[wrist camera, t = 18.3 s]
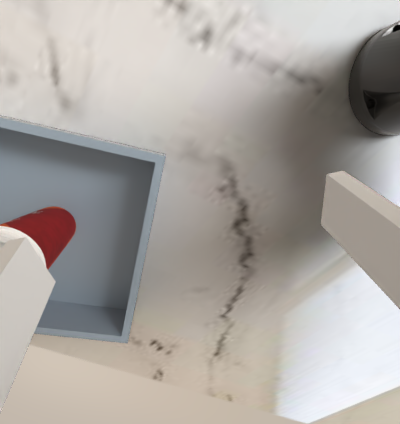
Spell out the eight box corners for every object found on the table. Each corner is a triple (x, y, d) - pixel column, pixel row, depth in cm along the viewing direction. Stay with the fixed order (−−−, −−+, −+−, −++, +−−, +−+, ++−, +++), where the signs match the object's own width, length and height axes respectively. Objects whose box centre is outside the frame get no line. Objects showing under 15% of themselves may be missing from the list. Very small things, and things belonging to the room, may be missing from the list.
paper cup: (34, 190, 36) (-45, 217, 22) (91, 210, 37) (50, 247, 24) (19, 241, 37) (-64, 296, 24) (74, 258, 39) (26, 319, 25)
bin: (165, 154, 38) (165, 156, 31) (133, 312, 43) (127, 343, 36) (-40, 105, 33) (-92, 95, 26) (-46, 289, 39) (-91, 320, 32)
